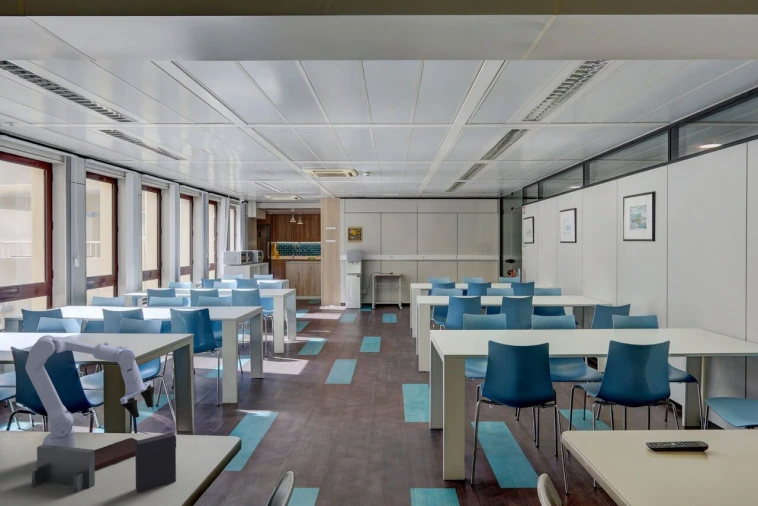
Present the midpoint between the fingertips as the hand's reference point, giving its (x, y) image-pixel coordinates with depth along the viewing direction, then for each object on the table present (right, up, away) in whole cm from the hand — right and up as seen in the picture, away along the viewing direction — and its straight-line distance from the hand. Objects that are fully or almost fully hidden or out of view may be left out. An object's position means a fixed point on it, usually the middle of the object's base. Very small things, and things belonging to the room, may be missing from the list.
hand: (143, 411), depth 173 cm
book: (-5, -13, -12) cm, 18 cm away
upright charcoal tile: (+21, -12, -32) cm, 40 cm away
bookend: (-10, -12, -31) cm, 35 cm away
